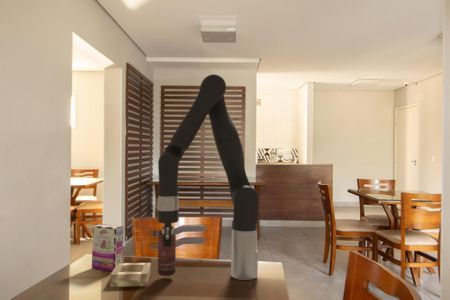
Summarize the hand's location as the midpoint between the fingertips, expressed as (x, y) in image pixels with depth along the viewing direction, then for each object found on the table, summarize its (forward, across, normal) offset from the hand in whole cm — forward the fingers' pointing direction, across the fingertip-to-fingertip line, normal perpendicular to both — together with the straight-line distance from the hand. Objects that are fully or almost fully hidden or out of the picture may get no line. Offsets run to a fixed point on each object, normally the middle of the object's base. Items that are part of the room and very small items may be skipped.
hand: (167, 257), depth 120 cm
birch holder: (+7, 0, +12) cm, 15 cm away
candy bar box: (+7, +13, +24) cm, 28 cm away
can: (+6, 0, 0) cm, 6 cm away
